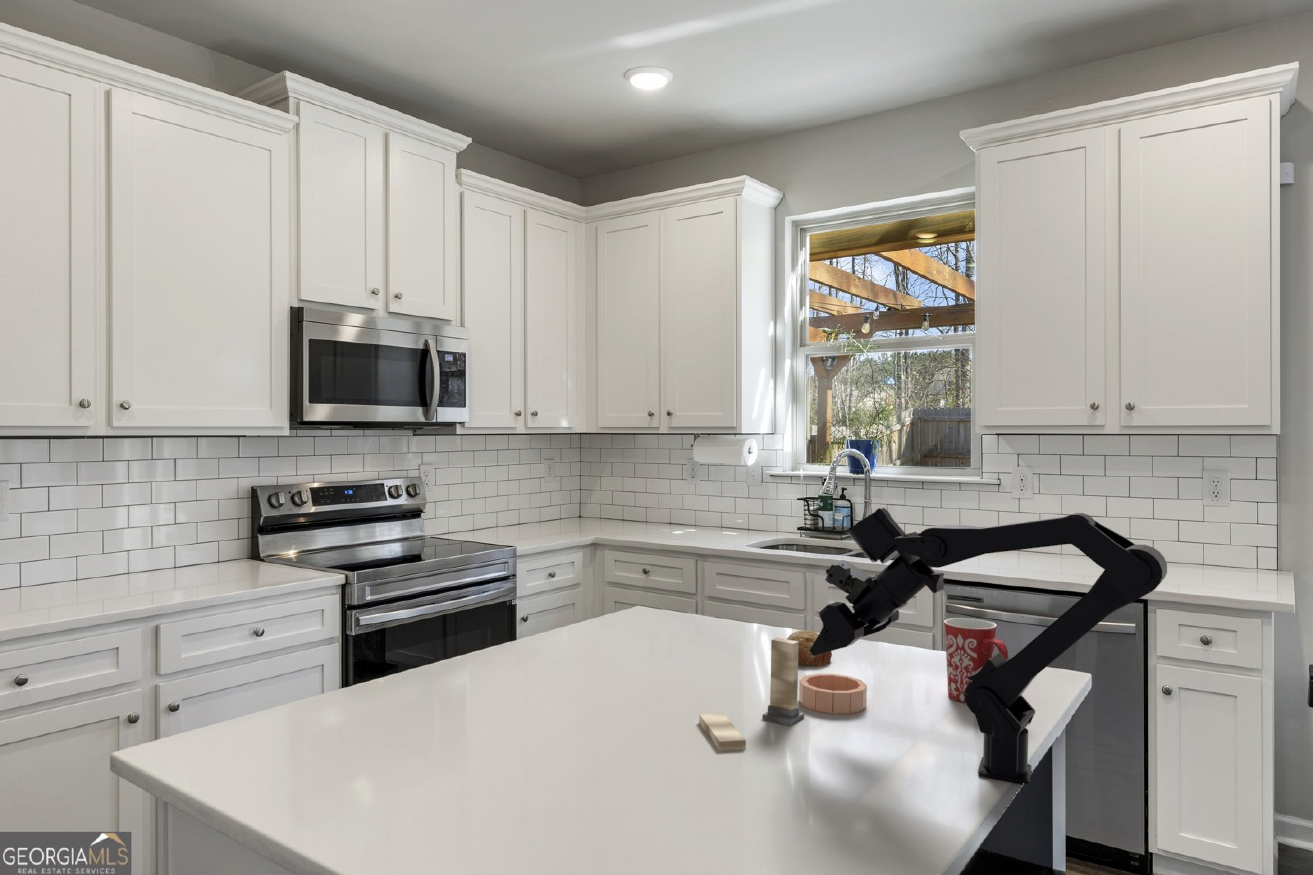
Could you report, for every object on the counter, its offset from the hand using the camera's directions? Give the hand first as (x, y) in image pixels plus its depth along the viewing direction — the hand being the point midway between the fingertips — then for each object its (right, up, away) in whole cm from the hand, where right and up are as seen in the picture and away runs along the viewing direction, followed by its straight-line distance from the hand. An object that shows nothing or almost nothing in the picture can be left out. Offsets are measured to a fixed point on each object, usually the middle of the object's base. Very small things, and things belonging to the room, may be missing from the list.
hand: (824, 647), depth 133 cm
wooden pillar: (-6, -13, +4) cm, 15 cm away
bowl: (+4, -13, +13) cm, 19 cm away
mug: (+30, -14, +16) cm, 36 cm away
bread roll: (+4, -13, +41) cm, 43 cm away
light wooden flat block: (-17, -13, -4) cm, 21 cm away
